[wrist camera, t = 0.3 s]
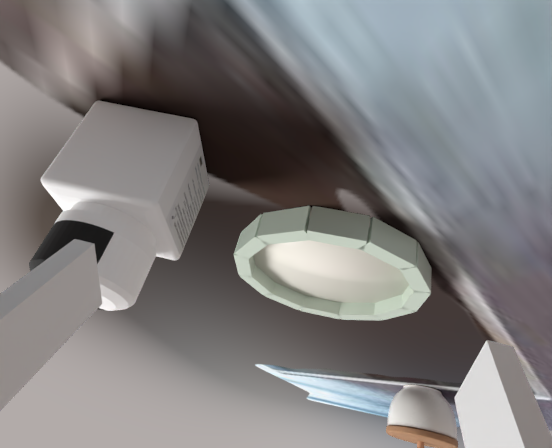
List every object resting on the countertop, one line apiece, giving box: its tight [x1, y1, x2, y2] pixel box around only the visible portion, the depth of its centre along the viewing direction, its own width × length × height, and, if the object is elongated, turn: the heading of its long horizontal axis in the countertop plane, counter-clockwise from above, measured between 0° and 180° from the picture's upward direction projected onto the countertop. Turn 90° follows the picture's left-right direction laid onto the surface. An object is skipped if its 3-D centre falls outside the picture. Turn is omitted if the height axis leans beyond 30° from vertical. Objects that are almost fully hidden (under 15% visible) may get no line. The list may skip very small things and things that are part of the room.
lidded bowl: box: [386, 385, 458, 448], centre depth 73 cm, size 13×13×11 cm
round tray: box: [234, 206, 432, 320], centre depth 39 cm, size 19×19×2 cm
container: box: [29, 101, 209, 311], centre depth 27 cm, size 8×8×13 cm
